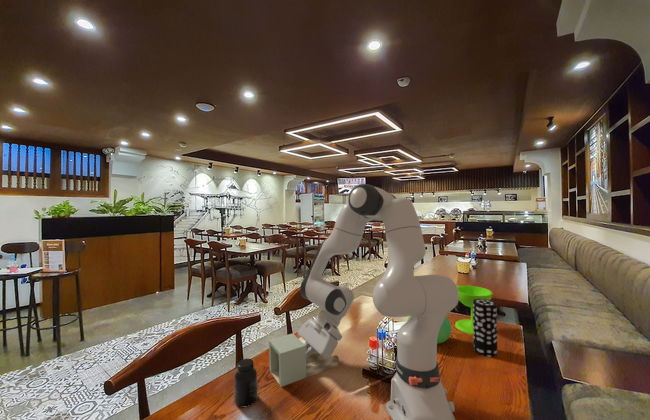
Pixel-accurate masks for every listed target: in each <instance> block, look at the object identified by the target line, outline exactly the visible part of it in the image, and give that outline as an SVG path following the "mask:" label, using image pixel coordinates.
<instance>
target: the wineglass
mask: <svg viewBox="0 0 650 420" xmlns="http://www.w3.org/2000/svg"><path fill="white" fill-rule="evenodd" d="M457 288H458V292H459V301H458V302H460V303H462V305H464V306H466V307H468V308H470V318H469V319H468V318H465V319H459V320H458V321H456V322H455V324H454V327H455V328H456V329H458V330H459V331H460V332H462V333H465V334H468V335H471V336H473V300H474V299H487V300H491V299H492V296H493V292H492V291H491V290H490V289H488V288H486V287H481V286H477V285H476V286H474V285H459V286H457ZM491 301H492V300H491Z"/></svg>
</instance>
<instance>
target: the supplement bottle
mask: <svg viewBox="0 0 650 420" xmlns="http://www.w3.org/2000/svg"><path fill="white" fill-rule="evenodd" d="M236 368H237V369H236V372H235V373H234V380H233V381H234V403H235V404H236V406H238V405H239V406H238V407H240V406H247V407H249V406H248V405H250V406H251V404H252V403H253V404H254V403H255V402H256V401H257V400H258V371H257V368H255V367H254V360H253V359H252V358H243V359H240V360H239V361H238V363H237V367H236ZM253 404H252V405H253Z"/></svg>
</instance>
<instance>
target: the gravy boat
mask: <svg viewBox="0 0 650 420" xmlns="http://www.w3.org/2000/svg"><path fill="white" fill-rule="evenodd" d="M407 317H408V318H407V321H408V320H409V319H410V317H411V316H407ZM451 335H452V323H451V322H450V320H449V317H447V316H446V318H445V319H444V321H443V323H442V325H441V328H440V331H439V334H438V339H437V345H438V344H442V343H445V342H446V341H447V340H448V339H449V338H450V336H451Z"/></svg>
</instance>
